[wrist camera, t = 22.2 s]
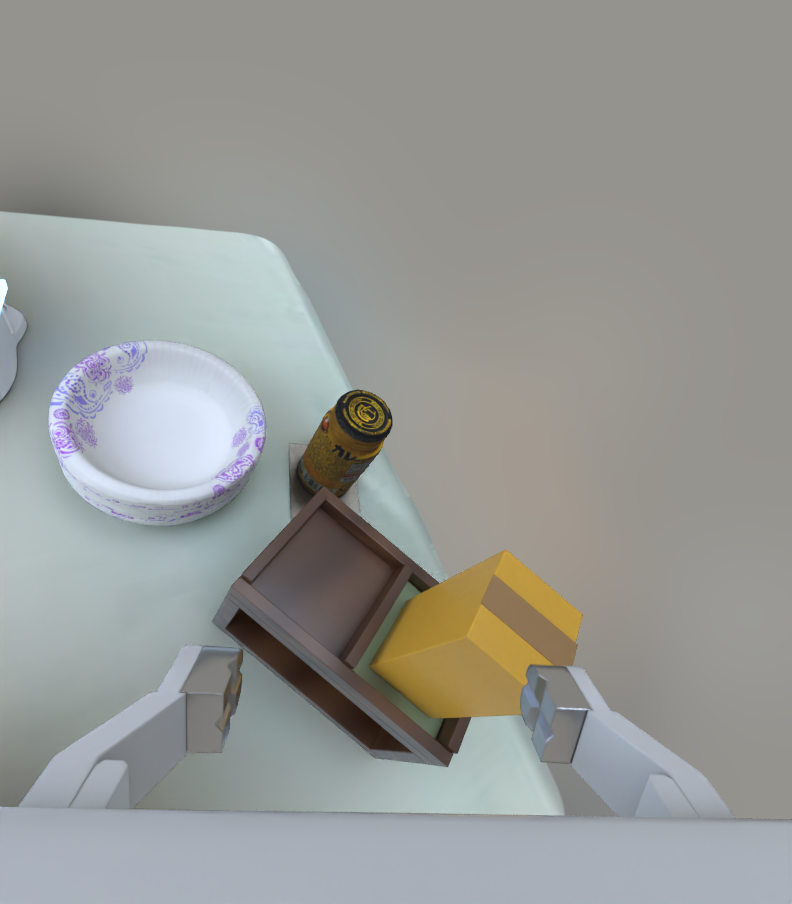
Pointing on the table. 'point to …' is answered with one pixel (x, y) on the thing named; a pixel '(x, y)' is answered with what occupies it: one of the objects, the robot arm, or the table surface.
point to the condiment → (339, 450)
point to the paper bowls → (156, 431)
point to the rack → (337, 627)
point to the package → (477, 640)
